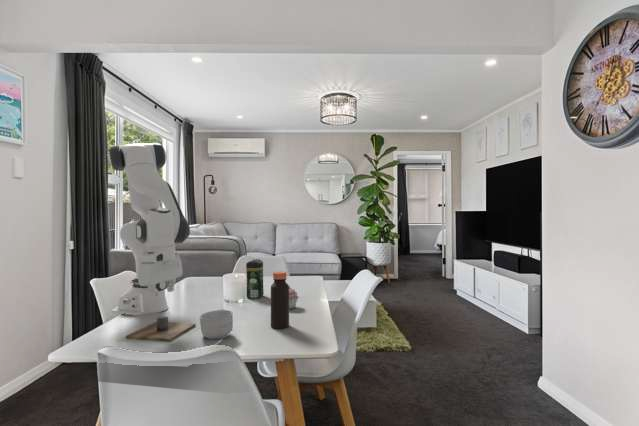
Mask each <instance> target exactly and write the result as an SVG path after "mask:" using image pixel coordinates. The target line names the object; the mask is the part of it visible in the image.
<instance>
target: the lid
mask: <svg viewBox="0 0 639 426" xmlns="http://www.w3.org/2000/svg"><path fill="white" fill-rule="evenodd" d="M196 325H197V324H196V323H187V322H174V321H173V322H172V321H171V322H170V321H169V317H168V316H159V317H157V318H156V321H154V322H152V323H150V324H148V325H146V326H144V327H142V328H140V329H138V330H136V331H133V332H131V333H129V334H128V335H125V336H126V339H135V340H150V341H164V342H171V341H172V340H174V339H176V338H177V337H179V336H181V335H182V334H184V333H186V332H187V331H189V330H191V329H192V328H194V327H196Z"/></svg>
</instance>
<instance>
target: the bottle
mask: <svg viewBox="0 0 639 426" xmlns="http://www.w3.org/2000/svg"><path fill="white" fill-rule="evenodd" d="M272 276H273V277H272V280H273V283H272V284H271V285H270V328H272V329H274V330H284V329H287V328H289V326H290V309H289V286H290V284H288V283H287V282H286V280H287V272H286V271H282V270H281V271H274V272H272Z"/></svg>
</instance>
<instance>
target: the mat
mask: <svg viewBox="0 0 639 426" xmlns="http://www.w3.org/2000/svg"><path fill="white" fill-rule="evenodd" d="M198 329H201V325H200V324H196V327H194V328H192V329H191V330H189V331H187V332H186V333H184V334H182V335H181V336H179V337H177V338H176V339H174V340H172V341H171V342H164V341H150V340H135V339H126V336H127V335H125V336H123V337H122V338H119V339H117V340H116V342H129V343H131V342H132V343H144V344H145V343H146V344H156V345H159V344H160V345H175V343H177V342H178V341H180V340H182V339H183V338H185V337H186V336H189V335H190V334H192V333H193V332H195V331H197V330H198Z"/></svg>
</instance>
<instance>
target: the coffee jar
mask: <svg viewBox="0 0 639 426" xmlns="http://www.w3.org/2000/svg"><path fill="white" fill-rule="evenodd" d="M245 264H246V265H245V270H246V271H245V272H246V298H247V299H252V300H253V299H260V298H262V297H263V296H264V261H263V260H262V259H251V260H249V261H248V262H246V263H245Z"/></svg>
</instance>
